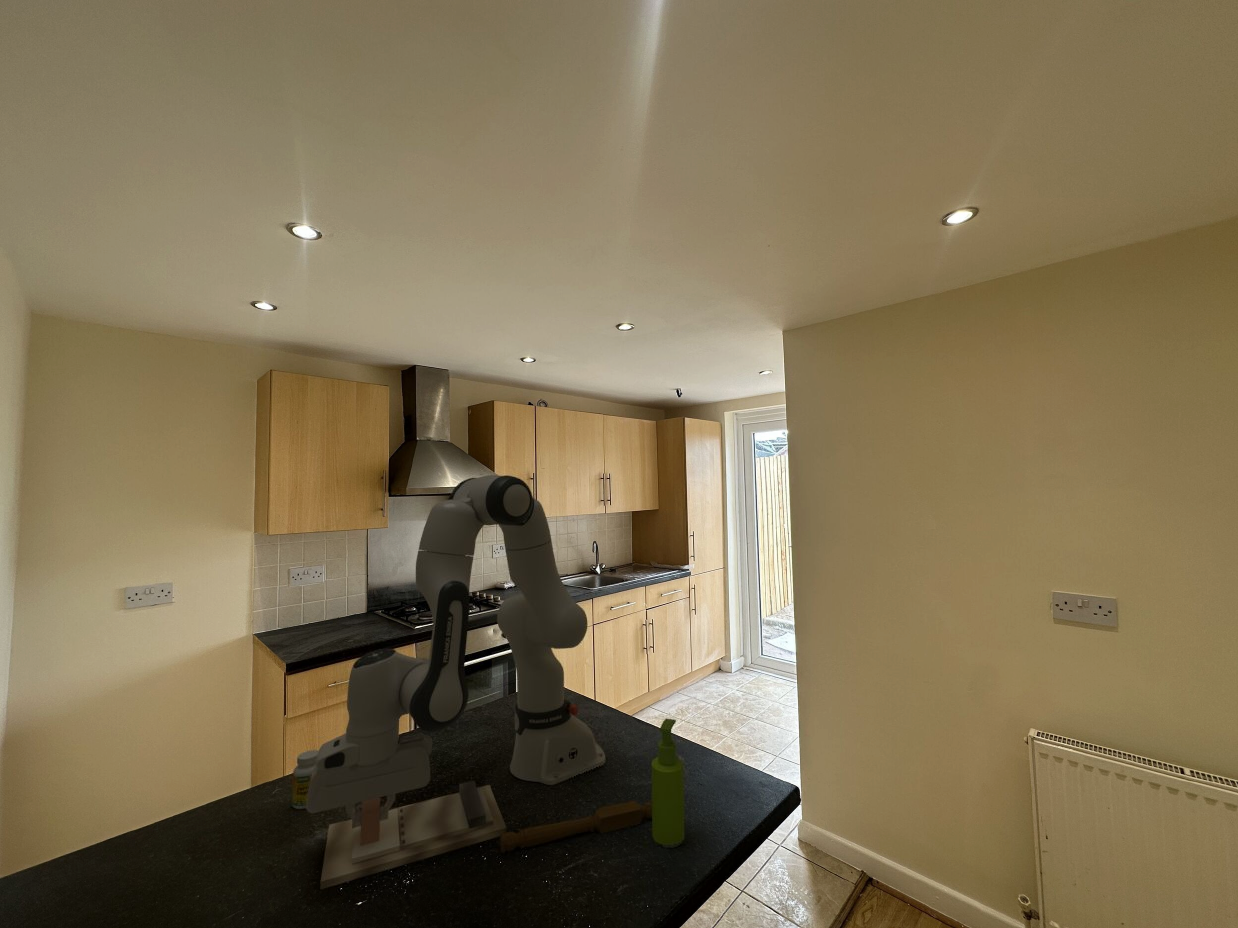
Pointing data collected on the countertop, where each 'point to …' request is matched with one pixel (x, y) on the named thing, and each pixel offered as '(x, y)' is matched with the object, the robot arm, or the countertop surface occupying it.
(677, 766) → the soap dispenser
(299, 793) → the supplement bottle
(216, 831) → the countertop surface
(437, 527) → the robot arm
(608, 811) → the tap handle
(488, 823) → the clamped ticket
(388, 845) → the stub
